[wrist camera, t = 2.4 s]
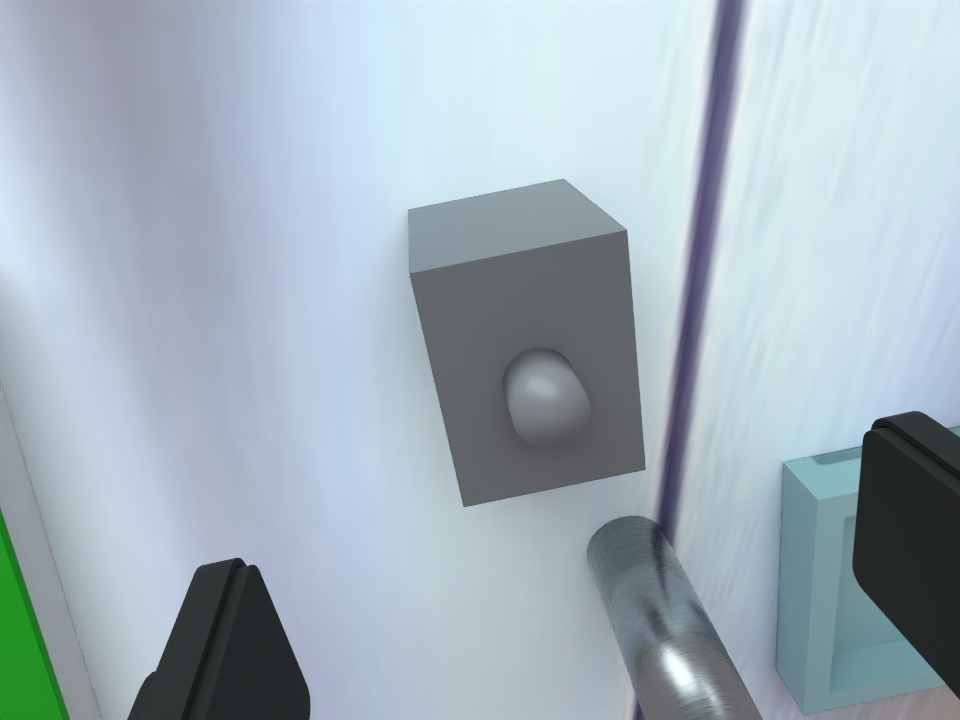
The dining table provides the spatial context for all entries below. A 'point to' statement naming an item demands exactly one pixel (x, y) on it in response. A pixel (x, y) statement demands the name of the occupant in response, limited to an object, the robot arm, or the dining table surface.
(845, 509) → the end holder
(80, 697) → the green flat slab
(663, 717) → the post
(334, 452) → the dining table surface
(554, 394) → the block
